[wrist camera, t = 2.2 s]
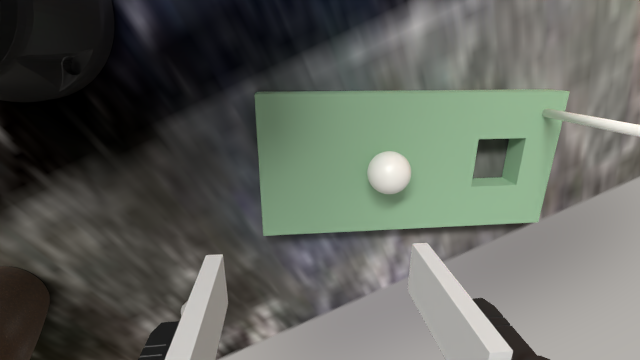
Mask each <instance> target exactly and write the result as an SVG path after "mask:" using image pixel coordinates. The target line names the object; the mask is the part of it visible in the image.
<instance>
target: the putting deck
mask: <svg viewBox="0 0 640 360" xmlns="http://www.w3.org/2000/svg"><path fill="white" fill-rule="evenodd" d="M569 92H570V91H561V90H551V89H537V90H414V91H292V92H256V93H255V94H254V95H255V111H256V127H257V143H258V159H259V175H260V191H261V207H262V223H263V236H270V235H290V234H311V233H331V232H351V231H371V230H391V229H411V228H431V227H451V226H471V225H491V224H511V223H531V222H538V221H539V217H540V212H541V208H542V204H543V200H544V196H545V192H546V187H547V183H548V179H549V175H550V171H551V167H552V163H553V158H554V154H555V150H556V146H557V142H558V138H559V133H560V129H561V125H562V121H567V122H572V123H576V124H581V125H586V126H590V127H595V128H600V129H605V130H609V131H614V132H619V133H623V134H628V135H633V136H638V137H640V125H637V124H631V123H625V122H620V121H614V120H609V119H603V118H597V117H592V116H586V115H581V114H575V113H569V112H565V109H566V104H567V100H568V96H569ZM479 139H509V142H508V148H507V153H506V158H505V163H504V169H503V174H502V177H497V178H473V172H474V166H475V159H476V153H477V147H478V141H479ZM385 151H393V152H397V153H399V154H401V155H403V156H404V157H405V158H406V159H407V160H408V162H409V164H410V167H411V178H410V181H409V183H408V185H407V186H406V187H405V188H404V189H403V190H402V191H400V192H398V193H395V194H383V193H380V192H378V191H377V190H375V189H374V188H373V187H372V186H371V184H370V182H369V180H368V176H367V169H368V166H369V163H370V161H371V160H372V159H373V158H374V157H375V156H376V155H377V154H379V153H382V152H385Z"/></svg>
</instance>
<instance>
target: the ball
mask: <svg viewBox="0 0 640 360" xmlns="http://www.w3.org/2000/svg"><path fill="white" fill-rule="evenodd" d="M367 176H368V180H369V182H370V184H371V186H372V187H373V188H374V189H375V190H377V191H378V192H380V193H383V194H395V193H398V192H400V191H402V190H403V189H404V188H405V187H406V186H407V185H408V183H409V181H410V178H411V167H410V164H409V162H408V160H407V159H406V158H405V157H404V156H403V155H401V154H399V153H397V152H393V151H385V152H382V153H379V154H377V155H376V156H375V157H374V158H373V159H372V160H371V161H370V163H369V166H368V169H367Z"/></svg>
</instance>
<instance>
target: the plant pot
mask: <svg viewBox="0 0 640 360" xmlns="http://www.w3.org/2000/svg"><path fill="white" fill-rule="evenodd" d="M49 305H50V296H49V292H48V290H47V288H46V286H45V285H44V284H43V283H42V281H41V280H40V279H38V278H37V277H36V276H34V275H33V274H31V273H29V272H27V271H25V270H22V269H19V268H15V267H7V266H1V267H0V360H30V358H31V356H32V353H33V351H34V349H35V346H36V344H37V341H38V338H39V336H40V333H41V330H42V327H43V325H44V322H45V319H46V315H47V312H48V309H49Z"/></svg>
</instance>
